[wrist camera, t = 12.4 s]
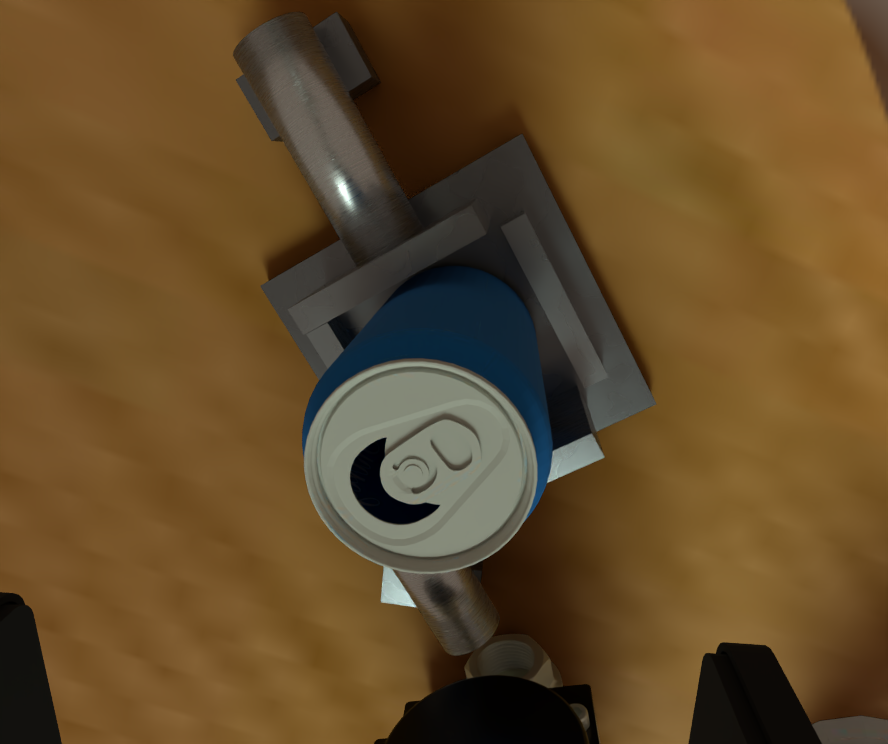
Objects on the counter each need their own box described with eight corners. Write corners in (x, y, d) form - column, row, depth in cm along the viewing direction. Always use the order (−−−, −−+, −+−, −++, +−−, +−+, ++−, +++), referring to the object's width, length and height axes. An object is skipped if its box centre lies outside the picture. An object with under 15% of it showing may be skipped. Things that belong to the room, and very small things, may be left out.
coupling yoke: (121, 170, 27) (19, 173, 22) (434, -40, 24) (412, -103, 18) (413, 618, 33) (393, 715, 27) (702, 498, 29) (749, 579, 24)
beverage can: (347, 323, 27) (232, 439, 16) (474, 229, 26) (447, 284, 14) (440, 442, 29) (394, 629, 17) (567, 360, 27) (610, 507, 16)
